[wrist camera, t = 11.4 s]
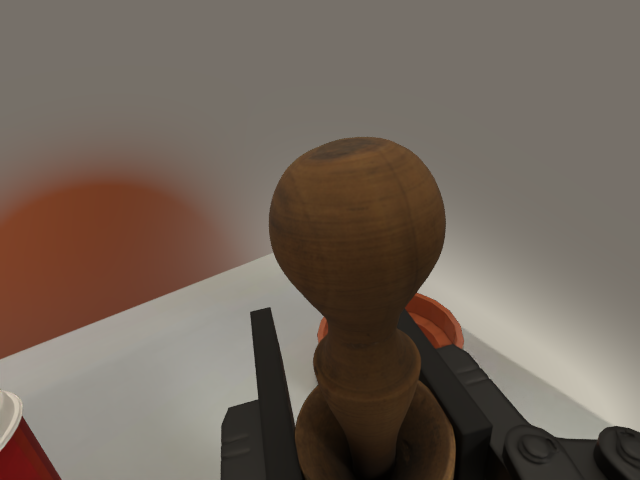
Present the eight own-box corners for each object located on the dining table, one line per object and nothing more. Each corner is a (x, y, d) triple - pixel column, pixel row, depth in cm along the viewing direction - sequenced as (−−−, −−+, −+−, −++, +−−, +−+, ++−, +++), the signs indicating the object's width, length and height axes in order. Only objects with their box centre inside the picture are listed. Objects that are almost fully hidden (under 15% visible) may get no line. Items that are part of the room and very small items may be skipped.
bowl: (484, 366, 38) (490, 322, 35) (406, 466, 30) (405, 419, 27) (378, 313, 47) (376, 275, 45) (298, 377, 39) (289, 336, 37)
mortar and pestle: (392, 844, 10) (286, 380, 2) (270, 599, 14) (86, 169, 6) (513, 621, 13) (675, 112, 5) (382, 483, 18) (356, 106, 10)
